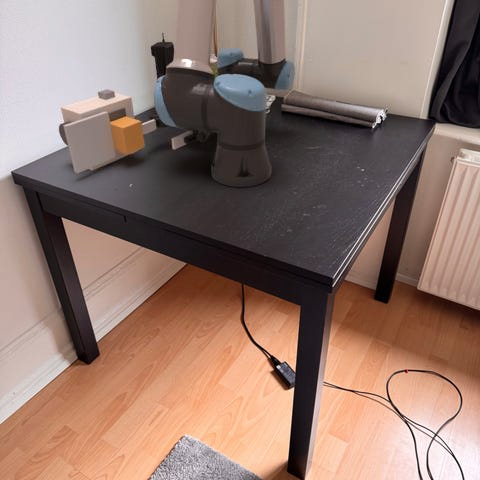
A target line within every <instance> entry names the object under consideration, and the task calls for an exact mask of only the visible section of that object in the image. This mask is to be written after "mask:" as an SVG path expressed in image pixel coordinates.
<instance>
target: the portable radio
mask: <svg viewBox="0 0 480 480" xmlns="http://www.w3.org/2000/svg"><path fill="white" fill-rule="evenodd" d="M161 35H162V41H157V42H156V43H154V44H153V45H151V46H150V53H151V56H152V57H153V58H154V62H155V64H154V65H155V70H156V71H155V72H156V73H155V74H156V81H157V80H158V79H159V78H160V77H162V76H166V67H167V66H168V65H169V64H170V63H172V62H173V60H174V49H175V44H174V42H173V41H165V36H164V32H162V33H161Z"/></svg>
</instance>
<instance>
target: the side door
mask: <svg viewBox="0 0 480 480" xmlns="http://www.w3.org/2000/svg"><path fill="white" fill-rule="evenodd" d="M142 124H143V123H142V120H139V119H133V118H129V117H123V118H120V119H117V120H115V121H112V122H110V120H109V114H108V112H106V111H105V112H102V113H99V114H96V115H93V116H90V117H87V118H84V119H81V120H78V121H75V122H72V123H69V124H66V125H63V126H64V130H65V134H66V138H67V143H68V146H67V147H68V149H69V153H70V158H71V162H72V166H73V167H72V168H73V172H74V173H76V174H79V173H82V172H84V171H86V170H90V169H89V168H91V167H94V166H96V165H98V164H101V163H103V162H106V161H108V160H110V159H113V158H115V157H116V153H115V150H117V151H119V152H122V153H124V154H130V153H132V152H134V151H137V150H139V151H140V149H143V148H146V145H145V138H144V135H143V129H142ZM137 152H138V151H137ZM134 153H135V152H134ZM132 154H133V153H132ZM130 155H131V154H130Z"/></svg>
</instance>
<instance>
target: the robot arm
mask: <svg viewBox="0 0 480 480" xmlns="http://www.w3.org/2000/svg"><path fill="white" fill-rule="evenodd" d="M216 9H217V0H178V7H177V20H176V29H175V41H174V60H173V62H172V63H170V64H169V65H168V66H167V67H166V76H162V77H160V78H159V79H158V80H157V79H156V83H155V84H154V89H153V103H154V109H155V111H156V113H157V114H154V115H149V118H148V121H146V122H143V123H142V129H143V136H144V135H146V134H149V133H151V132H155V131H156V130H158V129H159V128H169V127H175V128H177V129H183V130H184V129H185V130H186V129H188V131H186V132H183V133H181V134H179V135H177V136H174V137H172V138H171V146H172V150H177V149H179V148H181V147H183V146H185V145H188V144H190V143H193V142H198V141H200V142H201V143H205V142H206V141H207V140H208V138H209V136H210V135H211V133H216V141H217V142H216V144H217V145H216V149H215V152H214V155H213V160H212V162H211V176H212V178H213V180H214V181H216V182H218V183H219V184H222V185H224V186H228V187H233V188H234V187H235V188H236V187H237V188H247V187H249V188H250V187H254V186H257V185H258V186H259V185H261V184H264V183H265V182H267V181H269V179H270V178H271V175H272V163H271V160H270V157H269V154H268V150H267V147H266V115H267V113H266V112H267V110H266V109H267V100H266V98H267V97H266V89H268V90H269V89H270V90H274V91H288V90H290V89H291V88H292V86H293V83H294V80H295V72H296V68H295V64H294V63H293V61H289V60H286V57H287V56H286V21H285V20H286V19H285V17H286V16H285V0H253V11H254V24H255V37H256V46H257V47H256V49H257V58H249V57H245V55H244V52H243V51H244V50H242V49H241V48H234V47H233V48H232V47H230V48H229V47H228V48H224V49H223V48H222V49H221V50H219V51H218V52H217V54H216V55H217V76H218V77H217V78H216V79H215V81H214V78H215V74H214V72H213V71H212V70H211V68H210V66H209V65H210V56H211V54H212V46H213V36H214V29H215V27H214V26H215V20H216V19H215V18H216Z"/></svg>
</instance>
